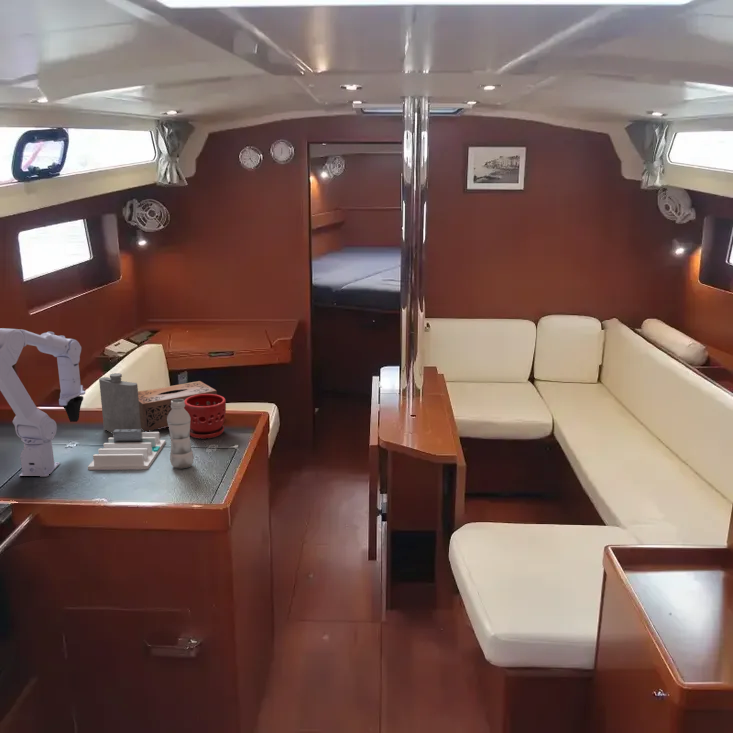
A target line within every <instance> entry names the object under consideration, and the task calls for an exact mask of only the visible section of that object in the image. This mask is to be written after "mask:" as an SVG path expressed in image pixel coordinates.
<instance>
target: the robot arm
mask: <svg viewBox="0 0 733 733" xmlns="http://www.w3.org/2000/svg"><path fill="white" fill-rule="evenodd" d="M27 345H28V346H34V347H36V349H37V350H38V351H39V352H40V353H42V354H43V353H44V354H48V355H52V356H53V357H54V358H56V361H57V362H56V363H57V369H58V371H57V372H58V379H59V387H60V393H59V398H58V404H59V406H62V407H63V408H64V411H65V413H66V414H67V418H68V419H69V422H70V423H77V422H78V421H79V418H80V412H81V407H82V404H83V401H84V395H85V394H86V390H84V385H83V384H81V376H80V374H81V373H80V365H79V363H80V361H81V358H80V357H81V353H82V346H81V344H80V342H79V341H78V340H77V339H74V338H66V336H65V335H61V334H60V335H56V334H55V332H53V331H47V332H43V333H41V334H39V333H34V332H32V331H28V330H26V329H22V328H21V329H18V328H4V327H2V328H0V393H1V394H2V395H3V397H4V399H5V400H6V402H7V404H8V405H9V406H10V409H12V411H13V413H14V414H15V416H14V418H13V420H12V424H13V425H14V428H15V430H14V431H15V434H16V436H18V437H19V438H20V439H21V442H23V446H24V447H23V448H22V451H21V453H20V456H19V457H20V464H21V465H20V466H21V473H20V474H18V476H19V477H20V476H40V477H49V476H50V475H51V474H52V473H53V472H54V470H56V468H57V467H58V466H59V465H61V463H60V462H59V461H57V462H55V458H54V449H53V448H54V447H53V441H52V440H54V438H55V436H56V434H57V432H58V425H57V423H56V421H55V420H54V419H53V418H51V417H50V416H49V415H48V414H47V413H46V412H44V411H42V410H41V409H39V408H38V407H37V405H36V404H35V402H34V401H33V399H32V397H31V396H30V394H29V393H28V391H27V389H26V388H25V386H24V384H23V382H22V381H21V379H20V378H19V376H18V374H17V372H16V371H15V369H14V368H13V366H14V365H15V364H17V362H18V360H19V359H20V358H19V357H20V355H21V353H22V351H23V348H24V347H27ZM49 474H50V475H49Z"/></svg>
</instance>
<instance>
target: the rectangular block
mask: <svg viewBox="0 0 733 733" xmlns="http://www.w3.org/2000/svg"><path fill="white" fill-rule="evenodd" d="M142 432H143V430H142V429H116V430H114V431H113V434H112V437H114V443H143V439H142Z"/></svg>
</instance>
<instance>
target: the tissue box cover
mask: <svg viewBox="0 0 733 733" xmlns="http://www.w3.org/2000/svg"><path fill="white" fill-rule="evenodd" d="M199 394H216V395H218V392H217V390H216V389H215V388H213V387H211V386H210V385H208V384H206V383H204V382H203V381H201V380H198V381H192V382H191V381H190V382H187V383H181V384H175V385H169V386H163V387H157V388H150V389H144V390H138V398H139V410H140V422H141V428H142V429H143V430H144V431H149V430H154V429H158V428H161V427H164V426H167V425H168V423H167V416H168V414H169V413H170V411H171V410H172V408H171V401H172V400H174V399H183V400H184V401H185V399H186V398H188V397H190V396H194V395H199ZM206 404H207V405H210V402H209V401H207V402H206ZM214 404H216V403H215V402H214ZM196 405H198V402H197V403H196ZM143 430H142V431H143ZM144 431H143V432H144ZM154 431H155V430H154ZM149 432H150V431H149Z"/></svg>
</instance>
